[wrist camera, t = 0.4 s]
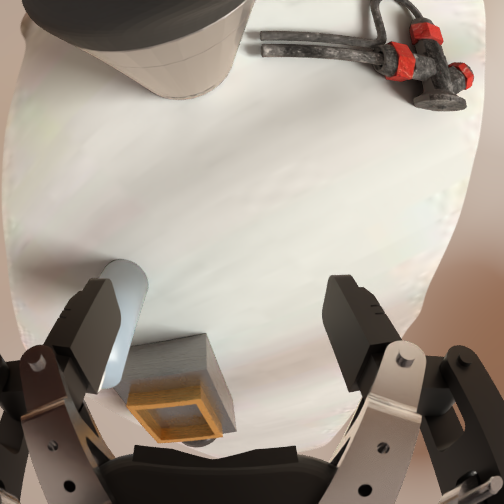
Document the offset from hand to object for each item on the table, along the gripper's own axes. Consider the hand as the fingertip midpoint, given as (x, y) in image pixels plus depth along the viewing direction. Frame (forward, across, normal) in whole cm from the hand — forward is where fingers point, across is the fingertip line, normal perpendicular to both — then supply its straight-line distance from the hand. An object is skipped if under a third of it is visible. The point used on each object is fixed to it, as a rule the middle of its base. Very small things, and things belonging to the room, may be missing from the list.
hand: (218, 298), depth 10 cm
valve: (+22, -16, -16) cm, 31 cm away
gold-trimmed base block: (+16, +7, +26) cm, 32 cm away
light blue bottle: (+17, +11, +11) cm, 23 cm away
